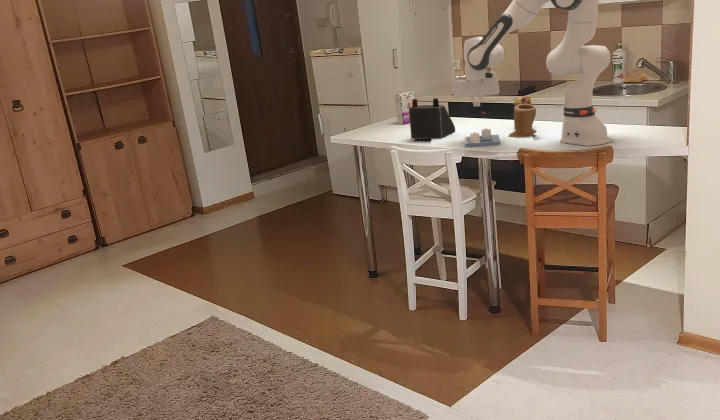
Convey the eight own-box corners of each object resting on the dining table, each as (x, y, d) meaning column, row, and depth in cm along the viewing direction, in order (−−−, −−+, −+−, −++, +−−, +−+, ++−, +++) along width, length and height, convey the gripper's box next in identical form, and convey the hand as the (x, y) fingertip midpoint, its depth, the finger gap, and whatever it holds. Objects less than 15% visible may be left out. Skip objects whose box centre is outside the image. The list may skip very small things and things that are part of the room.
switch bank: (498, 140, 298) (498, 133, 297) (500, 148, 283) (500, 141, 282) (465, 143, 300) (464, 136, 299) (465, 150, 285) (464, 143, 284)
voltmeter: (455, 134, 323) (453, 93, 317) (442, 141, 309) (439, 99, 304) (425, 134, 331) (422, 94, 325) (411, 141, 318) (408, 99, 312)
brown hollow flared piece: (530, 141, 291) (529, 107, 287) (505, 140, 298) (504, 107, 294) (543, 134, 302) (542, 101, 298) (519, 133, 309) (518, 101, 305)
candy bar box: (410, 120, 376) (408, 91, 371) (417, 121, 372) (414, 92, 367) (396, 124, 369) (394, 94, 364) (403, 124, 365) (400, 95, 360)
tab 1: (479, 143, 289) (479, 131, 287) (479, 144, 286) (479, 132, 285) (470, 143, 289) (469, 132, 288) (470, 145, 287) (469, 133, 285)
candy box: (521, 130, 316) (520, 98, 312) (514, 129, 319) (513, 98, 315) (532, 126, 322) (531, 95, 317) (524, 126, 325) (523, 95, 320)
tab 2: (491, 138, 295) (490, 127, 294) (491, 139, 293) (490, 128, 291) (482, 139, 296) (481, 128, 295) (482, 140, 293) (481, 129, 292)
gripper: (450, 77, 288) (452, 109, 291) (498, 73, 283) (500, 105, 287) (451, 76, 294) (453, 107, 297) (498, 72, 289) (500, 103, 293)
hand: (476, 106), depth 292 cm, fingers closed
